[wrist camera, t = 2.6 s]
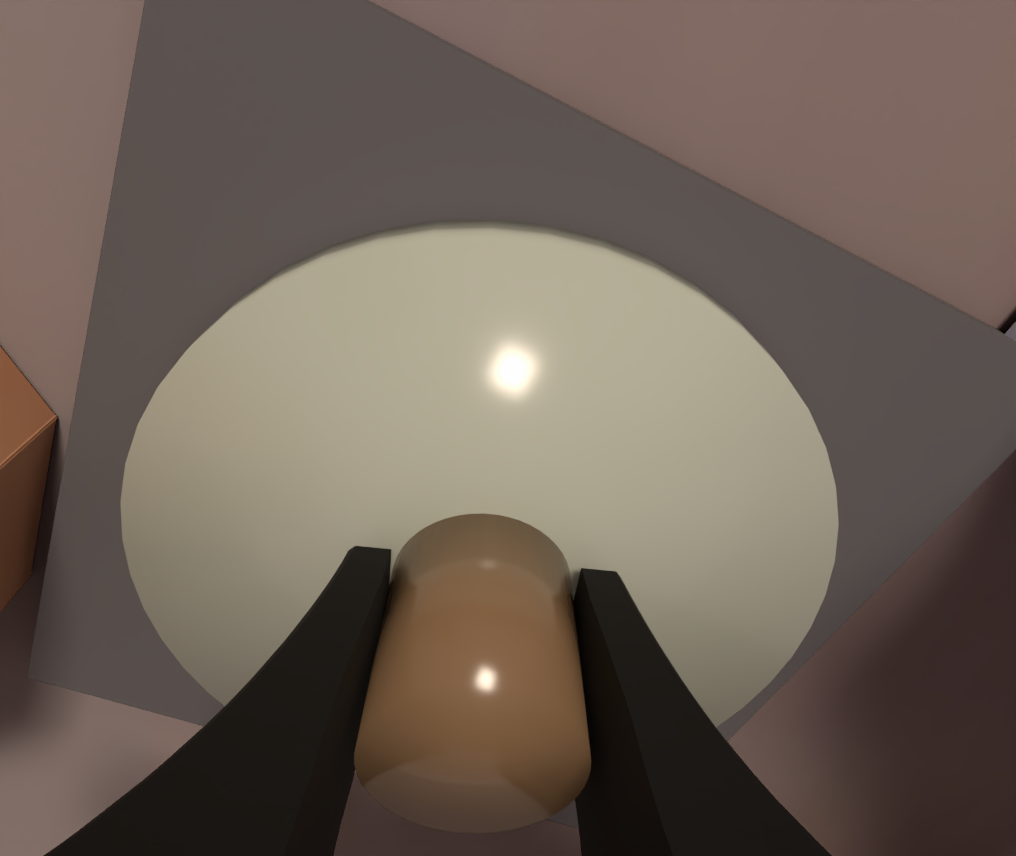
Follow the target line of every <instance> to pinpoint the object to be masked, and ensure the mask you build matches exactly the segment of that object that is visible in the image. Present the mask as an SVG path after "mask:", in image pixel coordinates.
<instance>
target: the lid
mask: <svg viewBox="0 0 1016 856" xmlns="http://www.w3.org/2000/svg"><path fill="white" fill-rule="evenodd" d="M120 504H121V524H122V540H123V545H124V549H125V554H126V558H127V563H128V567H129V572H130V575H131V578H132V580H133V583H134V586H135V588H136V591H137V593H138V596H139V598H140V601H141V603H142V606H143V608H144V610H145V612H146V613H147V615H148V617H149V619H150V620H151V622H152V624H153V626H154V627H155V629H156V631H157V632H158V634H159V636H160V638H161V639H162V641H163V642H164V643H165V645H166V646H167V647H168V648H169V650H170V651H171V652H172V654H173V655H174V656H175V657H176V659H177V660H178V661H179V663H180V664H181V665H182V667H183V668H184V669H185V670H186V671H187V672H188V673H189V674H190V675H191V676H192V677H193V678H194V679H195V680H196V681H197V682H198V683H199V684H200V685H201V686H202V687H203V688H204V689H205V690H206V691H207V692H208V693H209V694H210V695H211V696H213V697H214V698H215V699H216V700H218V701H219V702H220V703H221V704H223V705H224V706H226V705H227V704H228V703H229V701H230V700H231V699H232V698H233V697H234V696H235V695H236V694H237V693H238V692H239V691H240V690H241V689H242V688H243V687H244V686H245V685H246V684H247V683H248V682H249V681H250V680H251V678H252V677H253V676H254V675H255V674H256V673H257V672H258V671H259V669H260V668H261V667H262V666H263V665H264V664H265V663H266V661H267V660H268V659H269V658H270V657H271V656H272V655H273V653H274V652H275V651H276V650H277V649H278V648H279V647H280V645H281V644H282V643H283V642H284V641H285V640H286V638H287V637H288V636H289V635H290V633H291V632H292V631H293V630H294V628H295V627H296V626H297V624H298V623H299V622H300V621H301V619H302V618H303V617H304V615H305V614H306V613H307V612H308V610H309V609H310V608H311V606H312V605H313V604H314V602H315V601H316V600H317V598H318V597H319V595H320V594H321V593H322V591H323V590H324V588H325V587H326V586H327V584H328V583H329V581H330V580H331V578H332V577H333V575H334V574H335V572H336V571H337V569H338V567H339V566H340V564H341V563H342V561H343V559H344V557H345V556H346V554H347V552H348V550H350V549H351V548H353V547H354V546H363V547H374V548H384V549H391V565H390V582H389V589H388V594H387V598H386V603H385V608H384V613H383V618H382V622H381V627H380V632H379V637H378V642H377V647H376V651H375V656H374V661H373V666H372V671H371V675H370V680H369V685H368V690H367V695H366V699H365V704H364V709H363V714H362V719H361V723H360V728H359V733H358V738H357V743H356V748H355V752H354V765H355V769H356V770H355V773H357V776H358V778H359V780H360V782H361V784H362V785H363V787H364V788H365V790H366V791H367V792H368V794H369V795H370V796H371V797H372V798H373V799H374V800H375V801H376V802H378V803H379V804H380V805H381V806H382V807H384V808H386V809H387V810H389V811H390V812H392V813H393V814H395V815H397V816H399V817H401V818H403V819H405V820H408V821H410V822H413V823H415V824H418V825H422V826H425V827H428V828H433V829H437V830H442V831H449V832H456V833H471V834H472V833H494V832H503V831H509V830H514V829H518V828H522V827H526V826H529V825H532V824H535V823H538V822H540V821H542V820H545V819H547V818H549V817H551V816H553V815H554V814H556V813H558V812H559V811H561V810H562V809H564V808H565V807H566V806H568V805H569V804H570V803H571V802H572V801H573V800H574V799H575V798H576V797H577V796H578V795H579V794H580V792H581V791H582V789H583V788H584V786H585V784H586V782H587V780H588V778H589V774H590V770H591V753H590V744H589V735H588V726H587V717H586V708H585V700H584V691H583V682H582V673H581V664H580V655H579V646H578V637H577V628H576V619H575V610H574V601H573V600H574V596H575V592H576V588H577V584H578V579H579V575H580V571H581V568H586V569H597V570H607V571H616V572H617V573H618V574H619V576H620V577H621V579H622V581H623V582H624V584H625V586H626V588H627V590H628V592H629V593H630V595H631V597H632V599H633V601H634V602H635V604H636V606H637V608H638V610H639V611H640V613H641V615H642V617H643V618H644V620H645V622H646V623H647V625H648V627H649V628H650V630H651V632H652V634H653V635H654V637H655V638H656V640H657V642H658V643H659V645H660V647H661V648H662V650H663V651H664V653H665V654H666V656H667V657H668V659H669V661H670V662H671V664H672V665H673V667H674V668H675V670H676V671H677V673H678V674H679V676H680V678H681V679H682V681H683V682H684V683H685V685H686V686H687V688H688V689H689V691H690V692H691V694H692V695H693V697H694V698H695V699H696V701H697V702H698V703H699V705H700V706H701V708H702V709H703V710H704V712H705V713H706V714H707V716H708V717H709V719H710V720H711V721H712V723H713V724H714V725H715V727H717V726H719V725H720V724H721V723H723V722H724V721H725V720H727V719H728V718H730V717H731V716H732V715H734V714H735V713H736V712H738V711H739V710H741V709H742V708H743V707H744V706H745V705H747V704H748V703H749V702H750V701H751V700H752V699H753V698H754V697H755V696H756V695H757V694H758V693H760V692H761V691H762V690H763V689H764V688H765V687H766V686H767V685H768V684H769V683H770V682H771V681H772V680H773V679H774V677H775V676H776V675H777V674H778V673H779V672H780V670H781V669H782V668H783V667H784V666H785V664H786V663H787V662H788V661H789V660H790V659H791V657H792V656H793V654H794V653H795V651H796V650H797V648H798V647H799V645H800V644H801V642H802V640H803V639H804V637H805V636H806V634H807V633H808V631H809V630H810V628H811V626H812V624H813V622H814V619H815V617H816V615H817V613H818V611H819V608H820V606H821V604H822V602H823V600H824V597H825V595H826V591H827V588H828V584H829V581H830V577H831V573H832V570H833V566H834V563H835V556H836V546H837V536H838V527H839V522H838V507H837V493H836V485H835V481H834V477H833V473H832V469H831V465H830V461H829V457H828V453H827V449H826V446H825V444H824V442H823V440H822V438H821V435H820V433H819V431H818V429H817V426H816V424H815V422H814V420H813V417H812V415H811V413H810V411H809V409H808V408H807V406H806V405H805V403H804V402H803V400H802V399H801V397H800V396H799V394H798V393H797V391H796V390H795V388H794V387H793V385H792V384H791V382H790V381H789V379H788V378H787V376H786V375H785V373H784V372H783V371H782V369H781V368H780V367H779V366H778V364H777V363H776V362H775V360H774V359H773V358H772V357H771V355H770V354H769V353H768V351H767V350H766V349H765V347H764V346H763V345H762V344H761V343H760V342H759V341H758V340H757V339H756V337H755V336H754V335H753V334H752V333H751V332H750V331H749V330H748V329H747V328H746V327H745V326H744V325H743V324H742V323H741V322H740V320H739V319H738V318H737V317H736V316H735V315H734V314H733V313H732V312H731V311H729V310H728V309H727V308H726V307H724V306H723V305H722V304H720V303H719V302H718V301H717V300H715V299H714V298H713V297H712V296H710V295H709V294H708V293H706V292H705V291H704V290H703V289H701V288H700V287H699V286H697V285H696V284H695V283H693V282H692V281H690V280H688V279H686V278H685V277H683V276H681V275H679V274H678V273H676V272H674V271H672V270H671V269H669V268H667V267H665V266H663V265H662V264H660V263H658V262H656V261H655V260H653V259H651V258H649V257H647V256H644V255H642V254H639V253H637V252H634V251H631V250H629V249H626V248H624V247H621V246H619V245H616V244H614V243H611V242H609V241H606V240H604V239H601V238H597V237H593V236H589V235H585V234H581V233H577V232H573V231H569V230H565V229H560V228H556V227H552V226H548V225H539V224H530V223H521V222H512V221H502V220H493V219H491V220H451V221H433V222H427V223H421V224H414V225H408V226H402V227H396V228H389V229H383V230H380V231H376V232H373V233H370V234H367V235H363V236H360V237H357V238H353V239H350V240H347V241H344V242H340V243H337V244H334V245H331V246H329V247H327V248H324V249H322V250H320V251H318V252H316V253H314V254H312V255H310V256H307V257H305V258H303V259H301V260H299V261H297V262H295V263H292V264H290V265H288V266H286V267H284V268H283V269H281V270H280V271H278V272H277V273H275V274H274V275H272V276H271V277H269V278H268V279H266V280H265V281H263V282H262V283H260V284H259V285H257V286H256V287H254V288H253V289H251V290H250V291H248V292H247V293H245V294H244V295H243V296H242V297H241V298H240V299H238V300H237V301H236V302H235V303H234V304H233V305H232V306H231V307H230V308H229V309H228V310H226V311H225V312H224V313H223V314H222V315H221V316H220V317H219V318H218V319H217V320H216V321H214V322H213V323H212V324H211V325H210V326H209V327H208V328H207V329H206V330H205V331H204V333H203V334H202V335H201V336H200V337H199V338H198V339H197V340H196V341H195V342H194V343H193V344H192V345H191V346H190V347H189V348H188V349H187V350H186V351H185V353H184V354H183V355H182V357H181V358H180V359H179V360H178V362H177V363H176V364H175V365H174V367H173V368H172V369H171V371H170V372H169V373H168V374H167V376H166V377H165V378H164V380H163V381H162V382H161V383H160V385H159V386H158V387H157V389H156V391H155V393H154V395H153V397H152V399H151V401H150V402H149V404H148V406H147V408H146V410H145V412H144V414H143V416H142V417H141V419H140V421H139V423H138V425H137V428H136V431H135V435H134V438H133V441H132V444H131V447H130V450H129V453H128V456H127V460H126V463H125V470H124V477H123V485H122V493H121V501H120Z"/></svg>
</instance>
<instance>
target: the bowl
mask: <svg viewBox="0 0 1016 856" xmlns="http://www.w3.org/2000/svg"><path fill="white" fill-rule="evenodd" d="M56 419H57V416H56V415H55V414H54V413H53V412H52V411H51V409H50V408H49V407H48V406H47V404H46V403H45V402H44V401H43V399H42V398H41V397H40V396H39V394H38V393H37V392H36V391H35V389H34V388H33V387H32V385H31V384H30V383H29V382H28V380H27V379H26V378H25V377H24V375H23V374H22V373H21V372H20V370H19V369H18V368H17V367H16V365H15V364H14V363H13V362H12V360H11V359H10V358H9V357H8V355H7V354H6V353H5V351H4V350H3V349H2V348H1V346H0V612H1V610H2V609H3V608H4V607H5V606H6V604H7V603H8V602H9V601H10V600H11V599H12V597H13V596H14V595H15V594H16V593H17V592H18V590H19V589H20V588H21V587H22V586H23V584H24V583H25V582H26V581H27V580H28V579H29V577H30V576H31V575H32V574H31V572H32V565H33V559H34V553H35V547H36V541H37V534H38V528H39V522H40V516H41V510H42V503H43V497H44V491H45V485H46V479H47V472H48V466H49V460H50V454H51V448H52V441H53V435H54V429H55V423H56Z"/></svg>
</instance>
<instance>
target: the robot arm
mask: <svg viewBox="0 0 1016 856" xmlns="http://www.w3.org/2000/svg"><path fill="white" fill-rule="evenodd" d="M1004 335H1006V336H1008V337H1009V338H1011V339H1012V340H1014V341H1015V342H1016V322H1015V323H1014V324H1013V325H1012V326H1011V327H1010V329H1009V330H1008V331H1007V332H1006V333H1005V334H1004ZM390 565H391V549H384V548H374V547H363V546H354V547H353V548H351V549H350V550H348V552H347V554H346V556H345V557H344V559H343V561H342V563H341V564H340V566H339V567H338V569H337V571H336V572H335V574H334V575H333V577H332V578H331V580H330V581H329V583H328V584H327V586H326V587H325V588H324V590H323V591H322V593H321V594H320V595H319V597H318V598H317V600H316V601H315V602H314V604H313V605H312V606H311V608H310V609H309V610H308V612H307V613H306V614H305V615H304V617H303V618H302V619H301V621H300V622H299V623H298V624H297V626H296V627H295V628H294V630H293V631H292V632H291V633H290V635H289V636H288V637H287V638H286V640H285V641H284V642H283V643H282V644H281V645H280V647H279V648H278V649H277V650H276V651H275V652H274V653H273V655H272V656H271V657H270V658H269V659H268V660H267V661H266V663H265V664H264V665H263V666H262V667H261V668H260V669H259V671H258V672H257V673H256V674H255V675H254V676H253V677H252V678H251V680H250V681H249V682H248V683H247V684H246V685H245V686H244V687H243V688H242V689H241V690H240V691H239V692H238V693H237V694H236V695H235V696H234V697H233V698H232V699H231V700H230V701H229V703H228V704H227V705H226V706H225V707H224V708H222V709H221V710H220V711H219V712H218V713H217V714H216V715H215V716H214V717H213V718H212V719H211V720H210V721H209V722H208V723H207V724H206V725H205V726H204V727H203V728H202V729H201V730H200V731H199V732H197V733H196V734H195V735H194V736H193V737H192V738H191V739H190V740H189V741H187V742H186V743H185V744H184V745H183V746H182V747H181V748H180V749H179V750H177V751H176V752H175V753H174V754H173V755H172V756H171V757H170V758H169V759H167V760H166V761H165V762H164V763H163V764H162V765H161V766H159V767H158V768H157V769H156V770H155V771H154V772H152V773H151V774H150V775H149V776H148V777H146V778H145V779H144V780H143V781H142V782H140V783H139V784H138V785H137V786H135V787H134V788H133V789H131V790H130V791H129V792H128V793H126V794H125V795H124V796H123V797H121V798H120V799H119V800H117V801H116V802H115V803H114V804H112V805H111V806H110V807H108V808H107V809H106V810H105V811H103V812H102V813H101V814H99V815H98V816H97V817H96V818H94V819H93V820H92V821H90V822H89V823H88V824H87V825H85V826H84V827H83V828H81V829H80V830H79V831H78V832H76V833H75V834H73V835H72V836H71V837H69V838H68V839H67V840H65V841H64V842H63V843H61V844H60V845H58V846H57V847H56V848H54V849H53V850H51V851H50V852H48V853H47V854H45V855H44V856H333V855H334V850H335V845H336V841H337V837H338V833H339V829H340V824H341V820H342V817H343V813H344V809H345V806H346V802H347V799H348V795H349V791H350V788H351V784H352V781H353V777H354V773H355V770H356V769H355V765H354V752H355V748H356V743H357V738H358V733H359V728H360V723H361V719H362V714H363V709H364V704H365V699H366V695H367V690H368V685H369V680H370V675H371V671H372V666H373V661H374V656H375V651H376V647H377V642H378V637H379V632H380V627H381V622H382V618H383V613H384V608H385V603H386V598H387V594H388V589H389V582H390ZM573 601H574V610H575V619H576V628H577V637H578V646H579V655H580V664H581V673H582V682H583V691H584V700H585V708H586V717H587V726H588V735H589V744H590V753H591V770H590V774H589V778H588V780H587V782H586V784H585V786H584V788H583V789H582V791H581V792H580V794H579V795H578V796H577V797H576V798H575V804H576V811H577V819H578V826H579V833H580V841H581V852H582V856H831V855H830V854H829V853H828V852H827V851H826V850H825V849H824V848H823V847H822V846H821V845H820V844H819V843H818V842H817V841H816V840H815V839H814V838H813V837H812V836H811V834H810V833H809V832H808V831H807V830H806V829H805V828H804V827H803V826H802V825H801V824H800V823H799V822H798V821H797V820H796V819H795V818H794V817H793V816H792V815H791V814H790V813H789V812H788V811H787V810H786V809H785V808H784V807H783V806H782V805H781V804H780V803H779V802H778V801H777V800H776V798H775V797H774V796H773V795H772V794H771V793H770V792H769V791H768V789H767V788H766V787H765V786H764V785H763V784H762V783H761V782H760V780H759V779H758V778H757V777H756V776H755V775H754V774H753V772H752V771H751V770H750V769H749V768H748V766H747V765H746V764H745V763H744V762H743V760H742V759H741V758H740V757H739V756H738V754H737V753H736V752H735V751H734V750H733V748H732V747H731V746H730V745H729V743H728V742H727V741H726V740H725V738H724V737H723V736H722V734H721V733H720V732H719V731H718V729H717V728H716V727H715V725H714V724H713V723H712V721H711V720H710V719H709V717H708V716H707V714H706V713H705V712H704V710H703V709H702V708H701V706H700V705H699V703H698V702H697V701H696V699H695V698H694V697H693V695H692V694H691V692H690V691H689V689H688V688H687V686H686V685H685V683H684V682H683V681H682V679H681V678H680V676H679V674H678V673H677V671H676V670H675V668H674V667H673V665H672V664H671V662H670V661H669V659H668V657H667V656H666V654H665V653H664V651H663V650H662V648H661V647H660V645H659V643H658V642H657V640H656V638H655V637H654V635H653V634H652V632H651V630H650V628H649V627H648V625H647V623H646V622H645V620H644V618H643V617H642V615H641V613H640V611H639V610H638V608H637V606H636V604H635V602H634V601H633V599H632V597H631V595H630V593H629V592H628V590H627V588H626V586H625V584H624V582H623V581H622V579H621V577H620V576H619V574H618V573H617V572H616V571H607V570H597V569H586V568H581V571H580V575H579V579H578V584H577V588H576V592H575V596H574V600H573Z"/></svg>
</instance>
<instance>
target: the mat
mask: <svg viewBox="0 0 1016 856" xmlns="http://www.w3.org/2000/svg"><path fill="white" fill-rule="evenodd" d="M491 219H493V220H502V221H512V222H521V223H530V224H539V225H548V226H552V227H556V228H560V229H565V230H569V231H573V232H577V233H581V234H585V235H589V236H593V237H597V238H601V239H604V240H606V241H609V242H611V243H614V244H616V245H619V246H621V247H624V248H626V249H629V250H631V251H634V252H637V253H639V254H642V255H644V256H647V257H649V258H651V259H653V260H655V261H656V262H658V263H660V264H662V265H663V266H665V267H667V268H669V269H671V270H672V271H674V272H676V273H678V274H679V275H681V276H683V277H685V278H686V279H688V280H690V281H692V282H693V283H695V284H696V285H697V286H699V287H700V288H701V289H703V290H704V291H705V292H706V293H708V294H709V295H710V296H712V297H713V298H714V299H715V300H717V301H718V302H719V303H720V304H722V305H723V306H724V307H726V308H727V309H728V310H729V311H731V312H732V313H733V314H734V315H735V316H736V317H737V318H738V319H739V320H740V322H741V323H742V324H743V325H744V326H745V327H746V328H747V329H748V330H749V331H750V332H751V333H752V334H753V335H754V336H755V337H756V339H757V340H758V341H759V342H760V343H761V344H762V345H763V346H764V347H765V349H766V350H767V351H768V353H769V354H770V355H771V357H772V358H773V359H774V360H775V362H776V363H777V364H778V366H779V367H780V368H781V369H782V371H783V372H784V373H785V375H786V376H787V378H788V379H789V381H790V382H791V384H792V385H793V387H794V388H795V390H796V391H797V393H798V394H799V396H800V397H801V399H802V400H803V402H804V403H805V405H806V406H807V408H808V409H809V411H810V413H811V415H812V417H813V420H814V422H815V424H816V426H817V429H818V431H819V433H820V435H821V438H822V440H823V442H824V444H825V446H826V449H827V453H828V457H829V461H830V465H831V469H832V473H833V477H834V481H835V485H836V493H837V507H838V522H839V527H838V536H837V546H836V556H835V563H834V566H833V570H832V573H831V577H830V581H829V584H828V588H827V591H826V595H825V597H824V600H823V602H822V604H821V606H820V608H819V611H818V613H817V615H816V617H815V619H814V622H813V624H812V626H811V628H810V630H809V631H808V633H807V634H806V636H805V637H804V639H803V640H802V642H801V644H800V645H799V647H798V648H797V650H796V651H795V653H794V654H793V656H792V657H791V659H790V660H789V661H788V662H787V663H786V664H785V666H784V667H783V668H782V669H781V670H780V672H779V673H778V674H777V675H776V676H775V677H774V679H773V680H772V681H771V682H770V683H769V684H768V685H767V686H766V687H765V688H764V689H763V690H762V691H761V692H760V693H758V694H757V695H756V696H755V697H754V698H753V699H752V700H751V701H750V702H749V703H748V704H747V705H745V706H744V707H743V708H742V709H741V710H739V711H738V712H736V713H735V714H734V715H732V716H731V717H730V718H728V719H727V720H725V721H724V722H723V723H721V724H720V725H719V726H717V727H716V728H717V729H718V731H719V732H720V733H721V734H722V736H723V737H724V738H725V740H726V741H728V740H729V739H730V738H731V737H732V736H733V735H734V734H735V733H736V732H737V731H738V730H739V729H740V728H741V727H742V726H743V725H744V724H745V723H746V722H747V721H748V720H749V719H750V718H751V717H752V716H753V715H754V714H755V713H756V712H757V711H758V710H759V709H760V708H761V707H762V706H763V705H764V704H765V703H766V702H767V701H768V700H769V699H770V698H771V697H772V696H773V695H774V694H775V693H776V692H777V691H778V690H779V689H780V687H781V686H782V685H783V684H784V683H785V682H786V681H787V680H788V679H789V678H790V677H791V676H792V675H793V674H794V673H795V672H796V671H797V670H798V669H799V668H800V667H801V666H802V665H803V664H804V663H805V662H806V661H807V660H808V659H809V658H810V657H811V656H812V655H813V654H814V653H815V652H816V651H817V650H818V649H819V648H820V647H821V646H822V645H823V644H824V643H825V642H826V641H827V640H828V639H829V638H830V637H831V636H832V635H833V634H834V633H835V632H836V631H837V630H838V629H839V628H840V627H841V626H842V625H843V624H844V623H845V622H846V621H847V620H848V619H849V618H850V617H851V616H852V615H853V614H854V613H855V612H856V611H857V610H858V609H859V608H860V607H861V606H862V605H863V604H864V603H865V602H866V601H867V600H868V599H869V598H870V597H871V596H872V595H873V593H874V592H875V591H876V590H877V589H878V588H879V587H880V586H881V585H882V584H883V583H884V582H885V581H886V580H887V579H888V578H889V577H890V576H891V575H892V574H893V573H894V572H895V571H896V570H897V569H898V568H899V567H900V566H901V565H902V564H903V563H904V562H905V561H906V560H907V559H908V558H909V557H910V556H911V555H912V554H913V553H914V552H915V551H916V550H917V549H918V548H919V547H920V546H921V545H922V544H923V543H924V542H925V541H926V540H927V539H928V538H929V537H930V536H931V535H932V534H933V533H934V532H935V531H936V530H937V529H938V528H939V527H940V526H941V525H942V524H943V523H944V522H945V521H946V520H947V519H948V518H949V517H950V516H951V515H952V514H953V513H954V512H955V511H956V510H957V509H958V508H959V507H960V506H961V505H962V504H963V503H964V502H965V500H966V499H967V498H968V497H969V496H970V495H971V494H972V493H973V492H974V491H975V490H976V489H977V488H978V487H979V486H980V485H981V484H982V483H983V482H984V481H985V480H986V479H987V478H988V477H989V476H990V475H991V474H992V473H993V472H994V471H995V470H996V469H997V468H998V467H999V466H1000V465H1001V464H1002V463H1003V462H1004V461H1005V460H1006V459H1007V458H1008V457H1009V456H1010V455H1011V454H1012V453H1013V452H1014V451H1015V450H1016V342H1015V341H1014V340H1012V339H1011V338H1009V337H1008V336H1006V335H1004V334H1005V333H1003V332H1001V331H999V330H997V329H995V328H993V327H991V326H989V325H988V324H986V323H984V322H982V321H980V320H978V319H976V318H974V317H972V316H970V315H968V314H966V313H965V312H963V311H961V310H959V309H957V308H955V307H953V306H951V305H949V304H947V303H945V302H944V301H942V300H940V299H938V298H936V297H934V296H932V295H930V294H928V293H926V292H924V291H923V290H921V289H919V288H917V287H915V286H913V285H911V284H909V283H907V282H905V281H903V280H902V279H900V278H898V277H896V276H894V275H892V274H890V273H888V272H886V271H884V270H882V269H880V268H879V267H877V266H875V265H873V264H871V263H869V262H867V261H865V260H863V259H861V258H859V257H858V256H856V255H854V254H852V253H850V252H848V251H846V250H844V249H842V248H840V247H838V246H837V245H835V244H833V243H831V242H829V241H827V240H825V239H823V238H821V237H819V236H817V235H816V234H814V233H812V232H810V231H808V230H806V229H804V228H802V227H800V226H798V225H796V224H794V223H793V222H791V221H789V220H787V219H785V218H783V217H781V216H779V215H777V214H775V213H773V212H772V211H770V210H768V209H766V208H764V207H762V206H760V205H758V204H756V203H754V202H752V201H751V200H749V199H747V198H745V197H743V196H741V195H739V194H737V193H735V192H733V191H731V190H730V189H728V188H726V187H724V186H722V185H720V184H718V183H716V182H714V181H712V180H710V179H709V178H707V177H705V176H703V175H701V174H699V173H697V172H695V171H693V170H691V169H689V168H687V167H686V166H684V165H682V164H680V163H678V162H676V161H674V160H672V159H670V158H668V157H666V156H665V155H663V154H661V153H659V152H657V151H655V150H653V149H651V148H649V147H647V146H645V145H644V144H642V143H640V142H638V141H636V140H634V139H632V138H630V137H628V136H626V135H624V134H623V133H621V132H619V131H617V130H615V129H613V128H611V127H609V126H607V125H605V124H603V123H601V122H600V121H598V120H596V119H594V118H592V117H590V116H588V115H586V114H584V113H582V112H580V111H579V110H577V109H575V108H573V107H571V106H569V105H567V104H565V103H563V102H561V101H559V100H558V99H556V98H554V97H552V96H550V95H548V94H546V93H544V92H542V91H540V90H538V89H537V88H535V87H533V86H531V85H529V84H527V83H525V82H523V81H521V80H519V79H517V78H515V77H514V76H512V75H510V74H508V73H506V72H504V71H502V70H500V69H498V68H496V67H494V66H493V65H491V64H489V63H487V62H485V61H483V60H481V59H479V58H477V57H475V56H473V55H472V54H470V53H468V52H466V51H464V50H462V49H460V48H458V47H456V46H454V45H452V44H451V43H449V42H447V41H445V40H443V39H441V38H439V37H437V36H435V35H433V34H431V33H429V32H428V31H426V30H424V29H422V28H420V27H418V26H416V25H414V24H412V23H410V22H408V21H407V20H405V19H403V18H401V17H399V16H397V15H395V14H393V13H391V12H389V11H387V10H386V9H384V8H382V7H380V6H378V5H376V4H374V3H372V2H370V1H368V0H145V2H144V8H143V14H142V19H141V25H140V31H139V37H138V42H137V48H136V54H135V60H134V65H133V71H132V77H131V82H130V88H129V94H128V100H127V105H126V111H125V117H124V123H123V128H122V134H121V140H120V145H119V151H118V157H117V163H116V168H115V174H114V180H113V186H112V191H111V197H110V203H109V209H108V214H107V220H106V226H105V231H104V237H103V243H102V249H101V254H100V260H99V266H98V272H97V277H96V283H95V289H94V295H93V300H92V306H91V312H90V317H89V323H88V329H87V335H86V340H85V346H84V352H83V358H82V363H81V369H80V375H79V380H78V386H77V392H76V398H75V403H74V409H73V415H72V421H71V426H70V432H69V438H68V444H67V449H66V455H65V461H64V466H63V472H62V478H61V484H60V489H59V495H58V501H57V507H56V512H55V518H54V524H53V529H52V535H51V541H50V547H49V552H48V558H47V564H46V570H45V575H44V581H43V587H42V593H41V598H40V604H39V610H38V615H37V621H36V627H35V633H34V638H33V644H32V650H31V656H30V661H29V667H28V673H27V678H30V679H33V680H37V681H41V682H44V683H48V684H52V685H55V686H59V687H63V688H66V689H70V690H74V691H77V692H81V693H85V694H88V695H92V696H96V697H99V698H103V699H106V700H110V701H114V702H117V703H121V704H125V705H128V706H132V707H136V708H139V709H143V710H147V711H150V712H154V713H158V714H161V715H165V716H169V717H172V718H176V719H180V720H183V721H187V722H191V723H194V724H198V725H202V726H205V725H206V724H207V723H208V722H209V721H210V720H211V719H212V718H213V717H214V716H215V715H216V714H217V713H218V712H219V711H220V710H221V709H222V708H224V707H225V706H224V705H223V704H221V703H220V702H219V701H218V700H216V699H215V698H214V697H213V696H211V695H210V694H209V693H208V692H207V691H206V690H205V689H204V688H203V687H202V686H201V685H200V684H199V683H198V682H197V681H196V680H195V679H194V678H193V677H192V676H191V675H190V674H189V673H188V672H187V671H186V670H185V669H184V668H183V667H182V665H181V664H180V663H179V661H178V660H177V659H176V657H175V656H174V655H173V654H172V652H171V651H170V650H169V648H168V647H167V646H166V645H165V643H164V642H163V641H162V639H161V638H160V636H159V634H158V632H157V631H156V629H155V627H154V626H153V624H152V622H151V620H150V619H149V617H148V615H147V613H146V612H145V610H144V608H143V606H142V603H141V601H140V598H139V596H138V593H137V591H136V588H135V586H134V583H133V580H132V578H131V575H130V572H129V567H128V563H127V558H126V554H125V549H124V545H123V540H122V524H121V504H120V501H121V493H122V485H123V477H124V470H125V463H126V460H127V456H128V453H129V450H130V447H131V444H132V441H133V438H134V435H135V431H136V428H137V425H138V423H139V421H140V419H141V417H142V416H143V414H144V412H145V410H146V408H147V406H148V404H149V402H150V401H151V399H152V397H153V395H154V393H155V391H156V389H157V387H158V386H159V385H160V383H161V382H162V381H163V380H164V378H165V377H166V376H167V374H168V373H169V372H170V371H171V369H172V368H173V367H174V365H175V364H176V363H177V362H178V360H179V359H180V358H181V357H182V355H183V354H184V353H185V351H186V350H187V349H188V348H189V347H190V346H191V345H192V344H193V343H194V342H195V341H196V340H197V339H198V338H199V337H200V336H201V335H202V334H203V333H204V331H205V330H206V329H207V328H208V327H209V326H210V325H211V324H212V323H213V322H214V321H216V320H217V319H218V318H219V317H220V316H221V315H222V314H223V313H224V312H225V311H226V310H228V309H229V308H230V307H231V306H232V305H233V304H234V303H235V302H236V301H237V300H238V299H240V298H241V297H242V296H243V295H244V294H245V293H247V292H248V291H250V290H251V289H253V288H254V287H256V286H257V285H259V284H260V283H262V282H263V281H265V280H266V279H268V278H269V277H271V276H272V275H274V274H275V273H277V272H278V271H280V270H281V269H283V268H284V267H286V266H288V265H290V264H292V263H295V262H297V261H299V260H301V259H303V258H305V257H307V256H310V255H312V254H314V253H316V252H318V251H320V250H322V249H324V248H327V247H329V246H331V245H334V244H337V243H340V242H344V241H347V240H350V239H353V238H357V237H360V236H363V235H367V234H370V233H373V232H376V231H380V230H383V229H389V228H396V227H402V226H408V225H414V224H421V223H427V222H433V221H451V220H491ZM545 820H549V821H553V822H556V823H560V824H564V825H567V826H571V827H575V828H578V829H579V826H578V819H577V811H576V804H575V799H574V800H573V801H572V802H571V803H570V804H569V805H568V806H566V807H565V808H564V809H562V810H561V811H559V812H558V813H556V814H554V815H553V816H551V817H549V818H547V819H545Z"/></svg>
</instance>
